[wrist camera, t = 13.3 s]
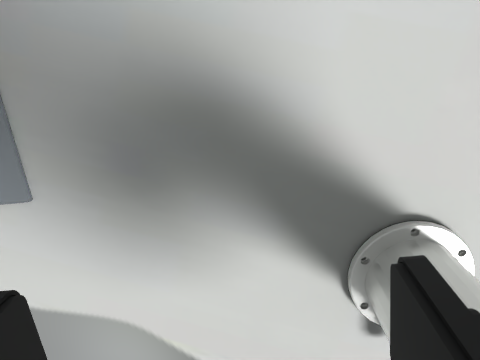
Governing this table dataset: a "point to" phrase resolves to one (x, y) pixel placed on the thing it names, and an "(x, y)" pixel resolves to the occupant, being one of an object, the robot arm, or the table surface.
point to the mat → (11, 166)
